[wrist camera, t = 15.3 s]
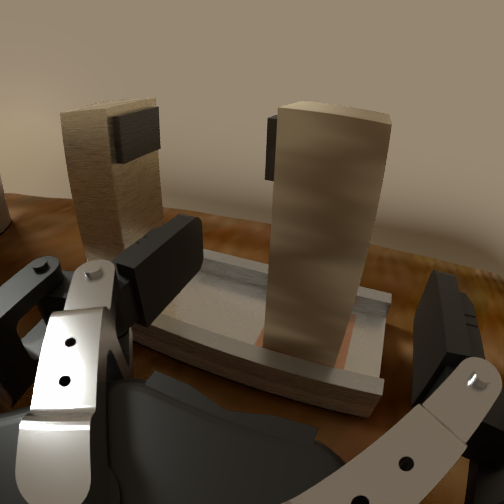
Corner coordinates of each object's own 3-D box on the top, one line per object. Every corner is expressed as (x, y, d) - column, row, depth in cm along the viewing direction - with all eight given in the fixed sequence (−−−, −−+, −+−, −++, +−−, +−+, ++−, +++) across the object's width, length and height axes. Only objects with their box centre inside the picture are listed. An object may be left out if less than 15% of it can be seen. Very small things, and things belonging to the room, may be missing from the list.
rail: (55, 300, 21) (9, 125, 14) (119, 249, 27) (99, 99, 20) (368, 418, 14) (475, 158, 7) (382, 319, 20) (433, 123, 13)
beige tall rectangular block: (254, 343, 17) (264, 106, 11) (277, 300, 20) (293, 99, 14) (334, 366, 16) (391, 124, 9) (346, 318, 19) (389, 114, 13)
